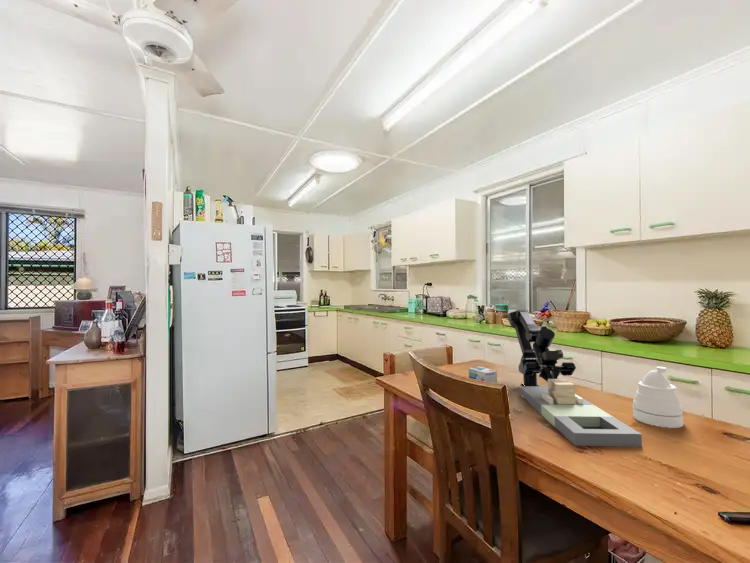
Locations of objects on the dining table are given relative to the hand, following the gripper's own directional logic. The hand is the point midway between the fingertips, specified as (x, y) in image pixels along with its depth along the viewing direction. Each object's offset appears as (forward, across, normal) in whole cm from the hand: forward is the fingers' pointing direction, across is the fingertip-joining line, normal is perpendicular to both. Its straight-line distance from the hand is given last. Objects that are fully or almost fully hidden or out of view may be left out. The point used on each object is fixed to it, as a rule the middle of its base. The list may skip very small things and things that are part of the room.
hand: (555, 388), depth 128 cm
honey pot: (+14, +27, -4) cm, 31 cm away
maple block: (+5, 0, -1) cm, 5 cm away
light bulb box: (-6, -24, +16) cm, 29 cm away
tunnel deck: (+12, 0, -2) cm, 12 cm away
